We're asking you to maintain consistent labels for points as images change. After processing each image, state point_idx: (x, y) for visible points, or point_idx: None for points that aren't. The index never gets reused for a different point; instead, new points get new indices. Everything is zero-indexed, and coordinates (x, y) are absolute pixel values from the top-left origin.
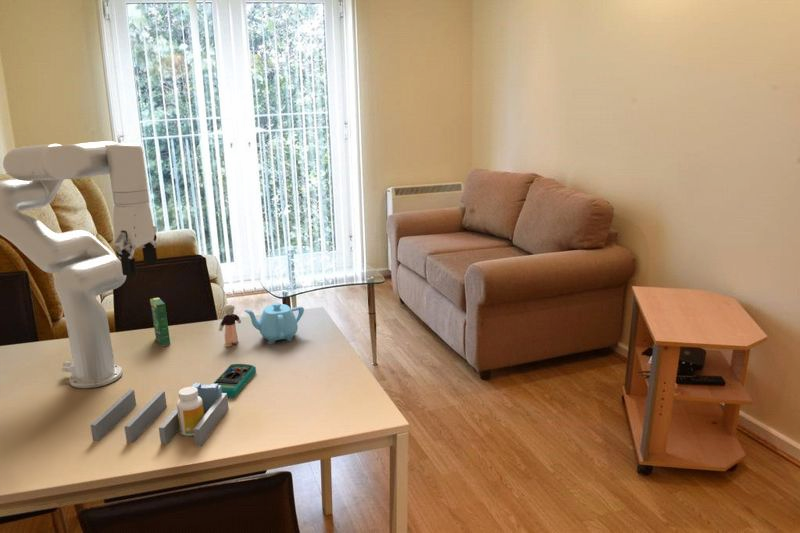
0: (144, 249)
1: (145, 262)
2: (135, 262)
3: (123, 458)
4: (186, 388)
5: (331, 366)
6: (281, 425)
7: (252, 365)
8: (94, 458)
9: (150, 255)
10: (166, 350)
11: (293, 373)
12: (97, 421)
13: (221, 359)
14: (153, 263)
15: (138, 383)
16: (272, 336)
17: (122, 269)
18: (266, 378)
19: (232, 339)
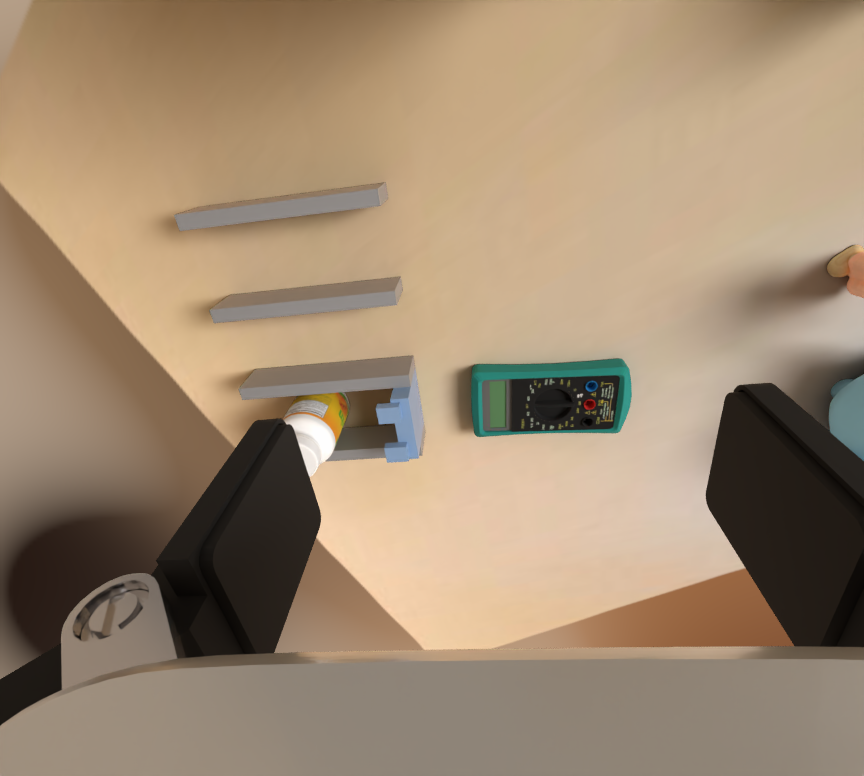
0: (848, 547)
1: (729, 407)
2: (274, 629)
3: (183, 324)
4: (303, 453)
5: (649, 555)
6: (388, 535)
7: (617, 429)
8: (152, 262)
9: (766, 533)
10: (838, 13)
11: (610, 498)
12: (194, 223)
13: (713, 294)
14: (709, 480)
15: (520, 103)
16: (830, 419)
17: (234, 454)
18: (580, 454)
19: (858, 283)
